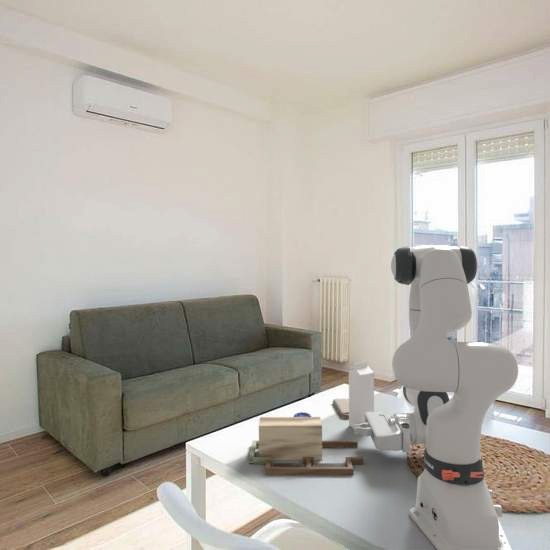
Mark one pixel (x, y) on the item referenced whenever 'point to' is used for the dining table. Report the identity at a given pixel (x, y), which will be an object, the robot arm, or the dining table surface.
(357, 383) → the milk
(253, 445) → the frame
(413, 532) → the dining table surface
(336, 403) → the washcloth
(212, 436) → the dining table surface
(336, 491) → the dining table surface
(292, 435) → the beige rectangular block
